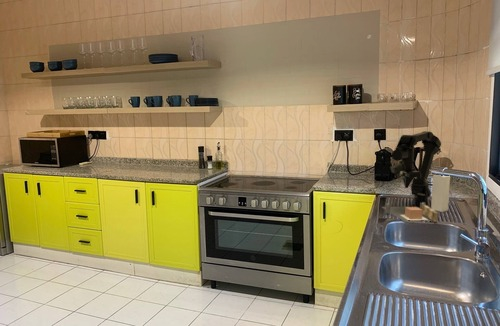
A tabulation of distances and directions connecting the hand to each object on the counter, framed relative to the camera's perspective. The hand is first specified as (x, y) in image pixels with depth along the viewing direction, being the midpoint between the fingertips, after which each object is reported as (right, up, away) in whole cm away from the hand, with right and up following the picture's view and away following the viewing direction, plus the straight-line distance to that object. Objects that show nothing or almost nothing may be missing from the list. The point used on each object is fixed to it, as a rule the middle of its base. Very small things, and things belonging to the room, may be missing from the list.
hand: (406, 187), depth 211 cm
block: (-2, -14, -13) cm, 19 cm away
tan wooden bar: (+6, -14, -15) cm, 21 cm away
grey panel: (-2, -13, -6) cm, 15 cm away
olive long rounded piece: (-3, -13, -6) cm, 15 cm away
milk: (+19, -12, +2) cm, 23 cm away
